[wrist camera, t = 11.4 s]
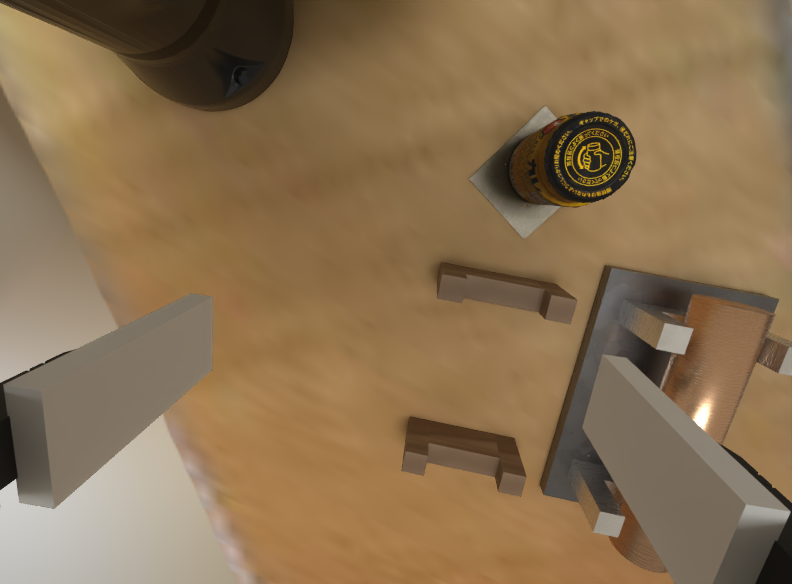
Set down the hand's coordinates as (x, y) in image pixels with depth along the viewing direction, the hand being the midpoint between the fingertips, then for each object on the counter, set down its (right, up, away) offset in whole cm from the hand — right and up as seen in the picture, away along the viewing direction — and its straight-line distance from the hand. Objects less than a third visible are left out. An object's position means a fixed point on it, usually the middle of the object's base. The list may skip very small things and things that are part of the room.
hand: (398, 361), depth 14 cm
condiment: (+12, +13, +23) cm, 29 cm away
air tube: (+23, -9, +22) cm, 33 cm away
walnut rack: (+8, -5, +27) cm, 28 cm away
